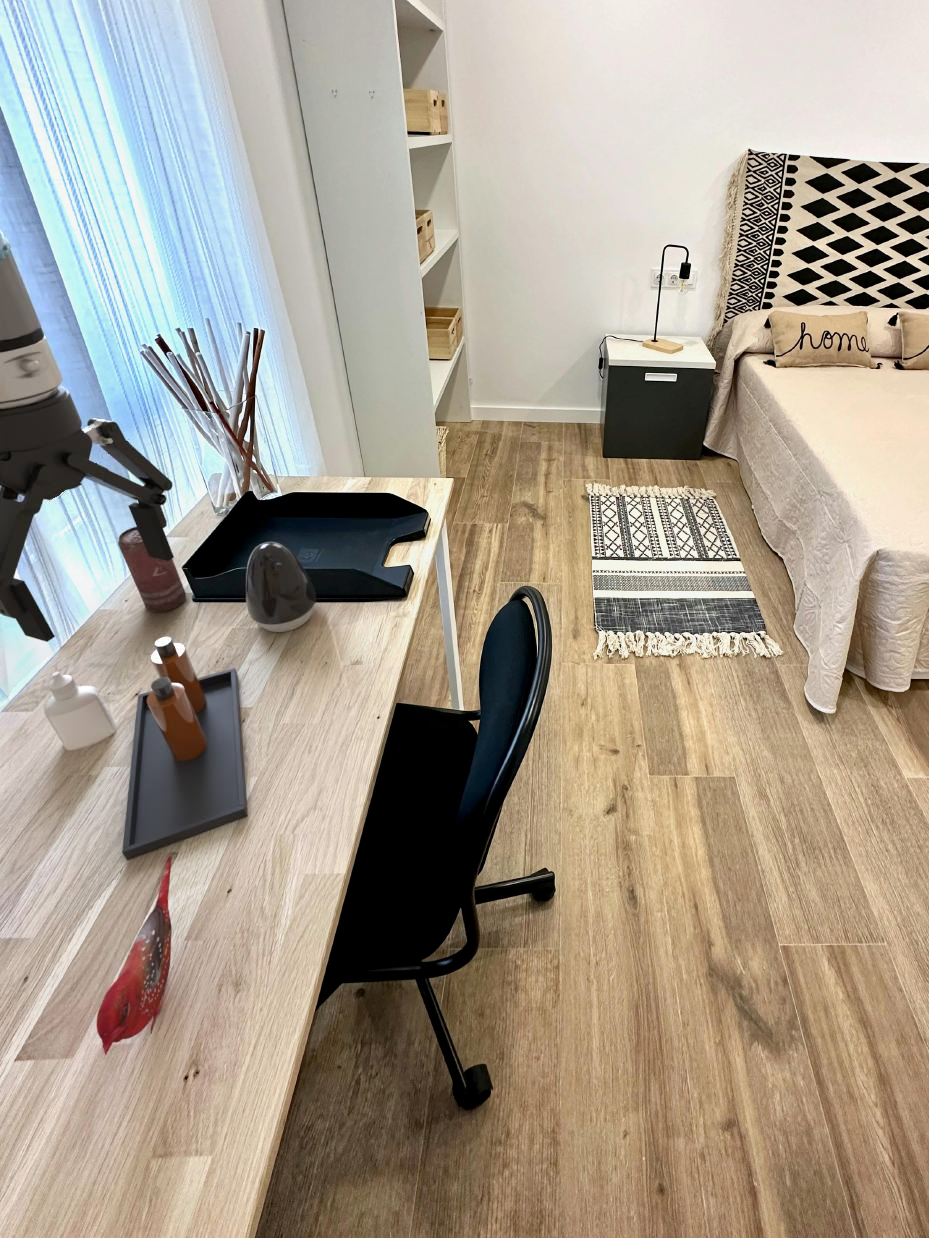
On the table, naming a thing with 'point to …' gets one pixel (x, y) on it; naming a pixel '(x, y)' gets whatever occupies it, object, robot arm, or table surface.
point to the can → (151, 574)
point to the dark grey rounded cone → (278, 588)
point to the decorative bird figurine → (140, 977)
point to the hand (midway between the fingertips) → (106, 593)
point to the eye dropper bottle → (78, 713)
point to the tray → (186, 774)
